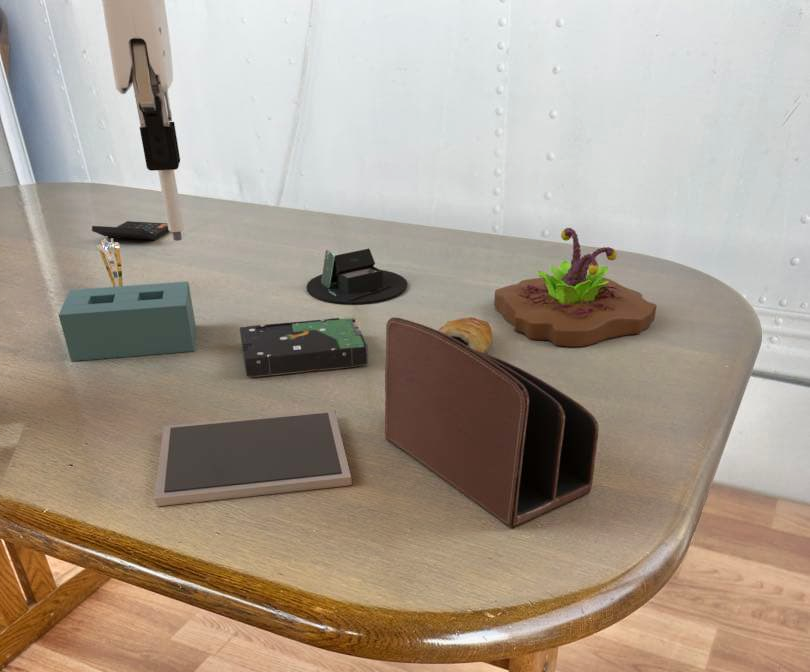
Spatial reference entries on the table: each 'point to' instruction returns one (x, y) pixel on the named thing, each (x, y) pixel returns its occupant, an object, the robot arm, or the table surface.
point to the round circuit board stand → (355, 280)
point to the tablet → (251, 457)
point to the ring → (111, 260)
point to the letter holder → (485, 424)
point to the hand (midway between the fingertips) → (164, 165)
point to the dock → (128, 321)
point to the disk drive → (302, 346)
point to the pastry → (470, 333)
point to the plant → (574, 303)
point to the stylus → (171, 203)
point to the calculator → (134, 230)
